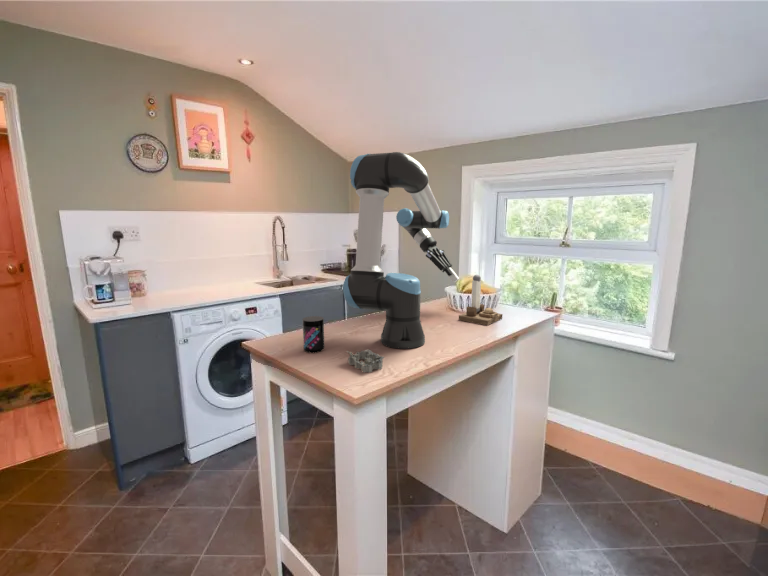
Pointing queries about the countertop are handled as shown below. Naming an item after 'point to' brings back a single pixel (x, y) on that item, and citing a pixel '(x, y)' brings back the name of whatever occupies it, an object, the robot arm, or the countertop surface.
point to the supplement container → (313, 333)
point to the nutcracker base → (479, 316)
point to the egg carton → (366, 360)
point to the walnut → (488, 311)
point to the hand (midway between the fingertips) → (456, 280)
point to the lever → (476, 292)
